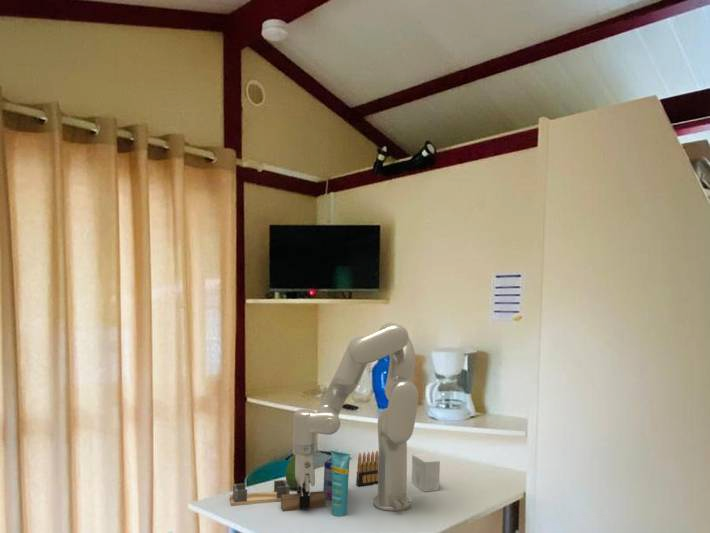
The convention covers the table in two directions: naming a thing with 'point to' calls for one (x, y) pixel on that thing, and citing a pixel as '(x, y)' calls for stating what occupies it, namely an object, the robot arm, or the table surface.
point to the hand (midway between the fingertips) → (303, 504)
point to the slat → (293, 501)
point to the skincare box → (425, 472)
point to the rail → (258, 494)
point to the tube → (340, 482)
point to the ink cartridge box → (328, 479)
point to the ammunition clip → (367, 470)
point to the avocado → (291, 474)
